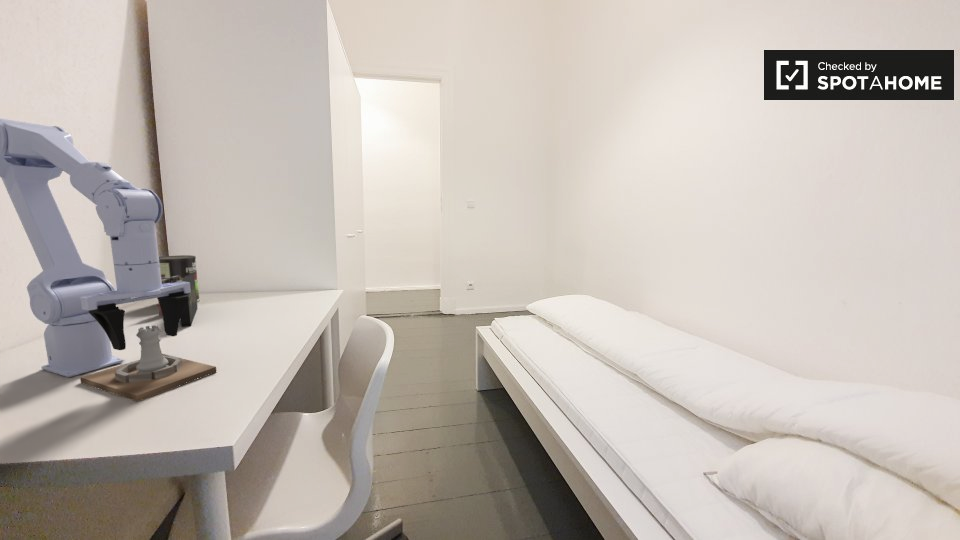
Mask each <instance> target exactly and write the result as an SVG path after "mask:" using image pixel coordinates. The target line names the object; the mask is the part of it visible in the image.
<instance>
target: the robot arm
mask: <svg viewBox="0 0 960 540" xmlns="http://www.w3.org/2000/svg"><path fill="white" fill-rule="evenodd" d="M63 172H65V173H66V174H68V175H69V183H70V185H71V186H72V187H73V188H74V189H75V190H76V191H78V193H80V194H82V195H83V196H84V197H85V198H86V199H88V200H89V201H91V203H93V204H94V206H95V210H96V214H97V216H98V218H99V220H100V221H101V222H102V225H103V229H104V233H105V235H106V236H108V237H109V238H110V246H111V253H112V255H111V256H112V261H113V262H112V263H113V269H114V277H115V284H116V287H115V286H114V285H113V283H111V282H110V281H109V280H108V278H107V275H106V274H105V272H104V271H103V270H102V269H99V268H98V267H94V266H92V265H89V264H86V263H84V262H83V259H82V258H81V255H80V253H79V252H78V249H77V246H76V244H75V242H74V239H73V238H72V236H71V233H70V231H69V229H68V226H67V225H66V222H65V220H64V217H63V215H62V213H61V211H60V209H59V208H60V207H58V204H57V202H56V199H55V197H54V195H53V193H52V191H51V189H50V186H49V184H48V183H49V181H51V180H54V179H56V178H59V177H61V175H62V173H63ZM0 178H1V181H2V182H3V185H4V187H5V190H6V191H7V194H8V195H9V198H10V200H11V203H12V205H13V207H14V209H15V212H16V213H17V216H18V218H19V220H20V222H21V224H22V228H23V230H24V232H25V233H26V236H27V238H28V240H29V243H30V245H31V248H32V249H33V251H34V254H35V256H36V258H37V261H38V263H39V265H40V267H41V269H42V271H41V272H40V273H39V274H38V275H36V276H35V277H34V278H32V279H31V281H29V283H28V285H27V286H26V290H27V293H28V297H29V305H30V309H31V312H32V314H33V316H34V317H35V318H36V319H37V320H39V321H40V322H42V323H43V324H46V325H47V326H46V328H45V330H44V333H43V337H44V344H45V350H46V356H47V364H45V365H42V366H41V369H43V370H45V371H47V372H51V373H54V374H57V375H60V376H63V377H66V378H71V377H75V376H77V375H78V376H79V375H82V374H86V373H89V372H92V371H95V370H98V369H102V368H106V367H109V366H114V365H116V364H119V363H123V362H124V360H125V359H124V358H121V357H118V356H117V357H116V356H113V352H112V348H113V350H117V351H124V350H126V345H127V344H126V338H125V332H124V331H125V328H124V325H125V322H124V321H125V314H126V313H125V312H126V311H125V310H124V309H121V308H120V307H119V306H118V305H123V304H124V305H125V304H128V303H135V302H140V301H145V300H152V299H156V298H157V301H159V302H158V303H159V304H160V307H161V310H162V314H163V316H162V318H163V328H164V333H165V336H169V337H176V336H178V331H179V326H180V325H179V324H180V323H181V319H180V318H181V315H182V313H183V310H184V308H185V306H186V304H187V303H188V301H189V296H188V295H184V293H191V289H190V282H176V283H167V284H162V281H161V273H160V264H159V257H160V256H159V249H158V248H159V247H158V246H159V245H158V238H157V237H158V236H157V230H156V223H158V222H159V221H161V219H162V216H163V213H164V212H163V211H164V209H163V204H162V200H161V199H160V197H159V195H157V193H155V192H154V190H153V189H150V188H140V187H136V186H134V185H133V184H132V183H131V182H130V181H128V180H127V179H125V178H124V177H122V176H121V175H120V174H118V173H117V172H116V171H114V170H113V169H112V166H111V165H110V164H108V163H107V162H98V161H91V160H89V159H88V158H87V157H86V156H85V155H84V154H83V153H82V152H81V151H80V150H79V149H78V148H77V147H75V145H74V140H73V137H72V134H70V133H69V132H67V131H66V129H64V128H63V127H60V126H56V125H55V126H51V125H44V124H39V123H37V124H36V123H31V122H26V121H19V120H18V121H17V120H11V119H7V118H6V119H5V118H0ZM159 304H158V305H159ZM111 347H112V348H111Z"/></svg>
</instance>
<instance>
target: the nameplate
mask: <svg viewBox="0 0 960 540" xmlns="http://www.w3.org/2000/svg"><path fill="white" fill-rule="evenodd" d="M182 282H190V289H191V293H184V295H188V296H189V301H188V303H187V304H186V306H185V308H184V310H183V313H182V315H181V318H180V325H181V328H183V327H191V326H193V325H192V324H193V322H194V319H195V316H196V315H197V314H196V313H197V310H198V302H197V297H196V287H195V277H194V275H189V276H185V278H184V279H183V280H182Z"/></svg>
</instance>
